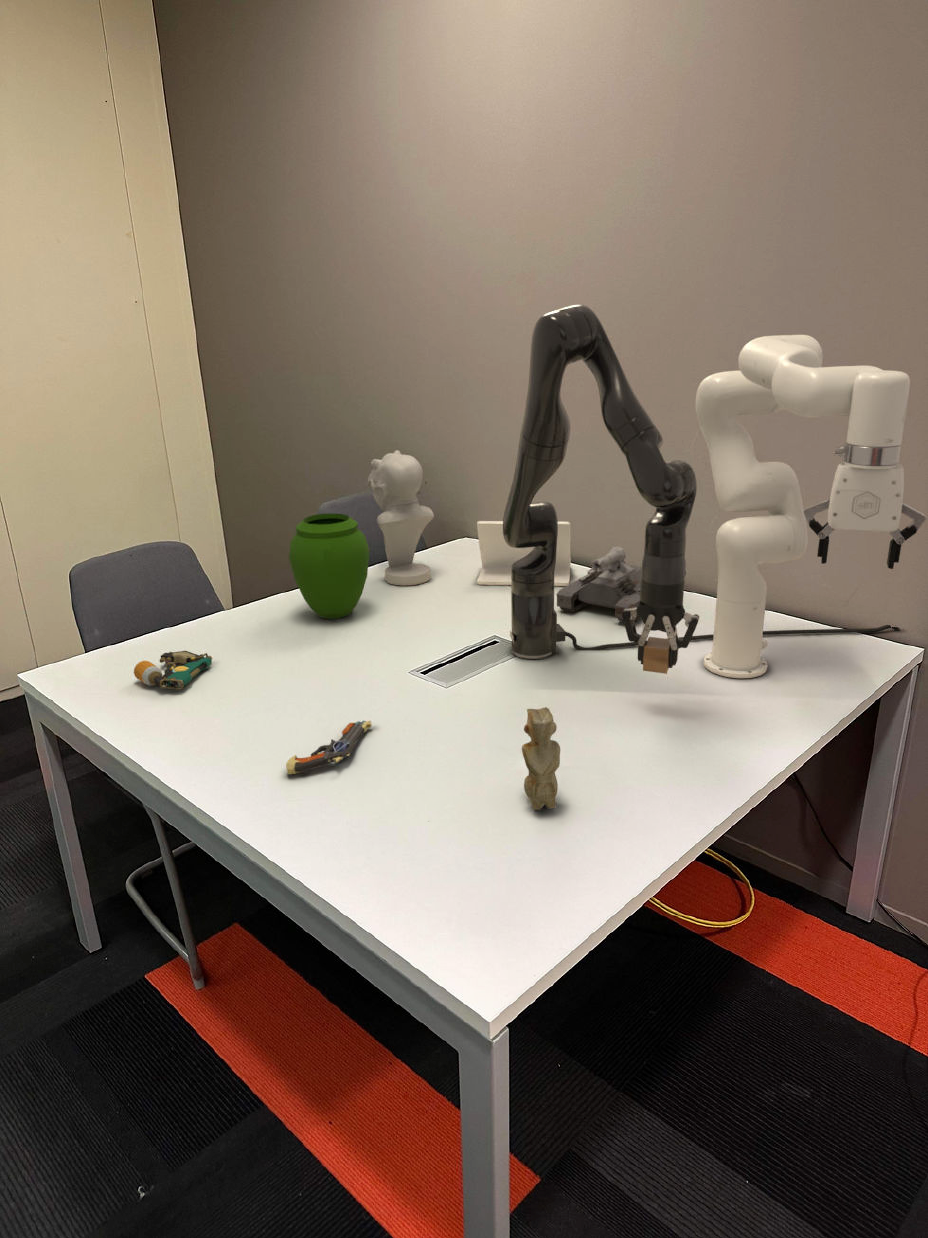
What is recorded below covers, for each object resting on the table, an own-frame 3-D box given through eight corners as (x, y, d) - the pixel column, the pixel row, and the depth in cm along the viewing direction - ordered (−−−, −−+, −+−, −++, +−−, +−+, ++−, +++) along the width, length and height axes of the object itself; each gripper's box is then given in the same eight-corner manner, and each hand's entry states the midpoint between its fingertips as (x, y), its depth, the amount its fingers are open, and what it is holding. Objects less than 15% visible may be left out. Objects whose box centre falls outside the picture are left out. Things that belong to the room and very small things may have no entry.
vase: (389, 608, 216) (383, 514, 208) (339, 633, 201) (330, 533, 192) (330, 596, 226) (322, 506, 218) (278, 619, 211) (267, 523, 202)
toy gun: (281, 764, 140) (338, 761, 138) (320, 718, 158) (372, 715, 156) (284, 779, 141) (341, 777, 139) (323, 732, 159) (374, 729, 156)
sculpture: (556, 787, 135) (557, 702, 130) (563, 813, 129) (564, 724, 123) (519, 789, 135) (519, 704, 130) (524, 815, 129) (524, 726, 123)
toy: (603, 584, 229) (605, 530, 224) (673, 597, 218) (677, 540, 213) (555, 612, 210) (556, 553, 205) (630, 627, 199) (633, 566, 194)
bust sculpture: (408, 559, 256) (402, 442, 244) (444, 580, 236) (440, 453, 224) (358, 568, 250) (349, 447, 237) (391, 590, 230) (383, 460, 217)
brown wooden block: (647, 659, 160) (648, 636, 158) (671, 662, 158) (672, 639, 156) (642, 670, 155) (644, 646, 153) (666, 674, 154) (668, 649, 152)
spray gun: (177, 659, 191) (231, 671, 185) (120, 684, 176) (176, 698, 171) (176, 641, 190) (230, 653, 184) (118, 665, 175) (174, 678, 169)
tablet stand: (569, 585, 229) (570, 524, 223) (476, 584, 232) (475, 523, 226) (570, 566, 246) (571, 508, 240) (484, 564, 249) (483, 507, 243)
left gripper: (618, 579, 149) (614, 667, 156) (702, 586, 144) (694, 678, 151) (626, 566, 156) (622, 652, 162) (706, 573, 151) (699, 661, 157)
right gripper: (809, 457, 129) (797, 566, 135) (938, 462, 123) (919, 575, 129) (810, 449, 135) (798, 553, 142) (933, 453, 129) (915, 561, 135)
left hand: (657, 664), depth 156 cm, fingers closed on brown wooden block, 4 cm apart
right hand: (856, 563), depth 135 cm, fingers open, 9 cm apart
